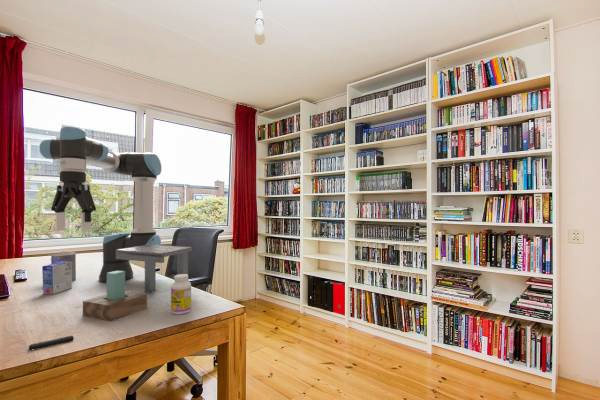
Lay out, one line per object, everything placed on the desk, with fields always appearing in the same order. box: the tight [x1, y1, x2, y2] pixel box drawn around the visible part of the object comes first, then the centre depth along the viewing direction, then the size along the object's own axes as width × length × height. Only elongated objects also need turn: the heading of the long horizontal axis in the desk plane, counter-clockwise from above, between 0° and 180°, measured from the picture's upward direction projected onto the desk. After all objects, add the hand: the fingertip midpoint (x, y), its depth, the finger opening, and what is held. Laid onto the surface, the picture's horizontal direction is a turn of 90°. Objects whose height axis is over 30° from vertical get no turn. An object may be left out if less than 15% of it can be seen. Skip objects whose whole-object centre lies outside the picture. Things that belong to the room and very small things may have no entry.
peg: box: [106, 271, 126, 301], centre depth 109 cm, size 4×4×14 cm
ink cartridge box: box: [41, 258, 73, 295], centre depth 135 cm, size 10×6×14 cm, turn 174°
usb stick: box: [28, 335, 74, 351], centre depth 84 cm, size 10×3×2 cm, turn 129°
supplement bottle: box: [170, 274, 192, 316], centre depth 108 cm, size 7×7×13 cm
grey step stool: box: [116, 244, 193, 293], centre depth 125 cm, size 24×16×20 cm, turn 69°
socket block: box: [82, 290, 148, 322], centre depth 109 cm, size 14×14×5 cm
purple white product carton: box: [50, 251, 77, 282], centre depth 152 cm, size 10×10×15 cm
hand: (72, 231), depth 109 cm, fingers open, 13 cm apart
